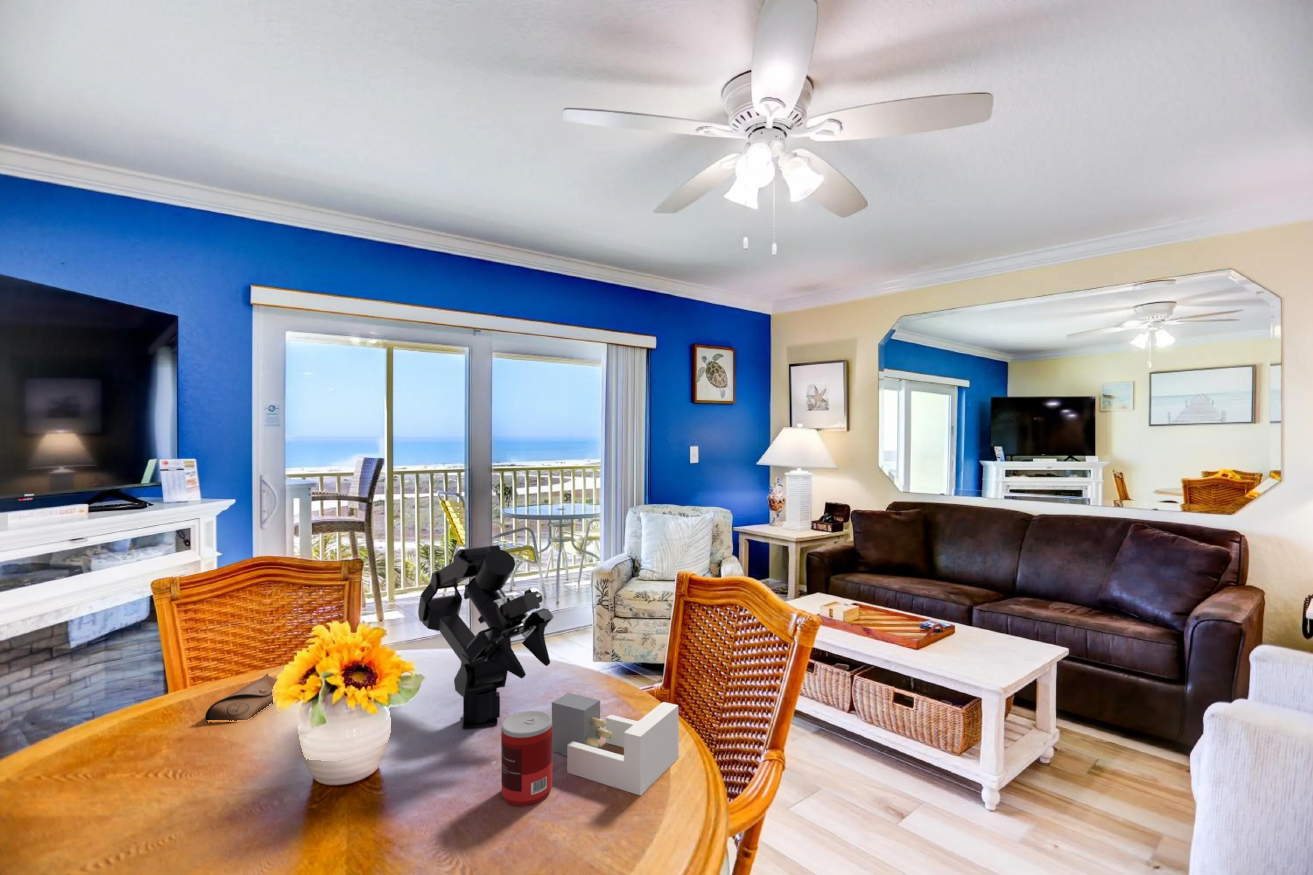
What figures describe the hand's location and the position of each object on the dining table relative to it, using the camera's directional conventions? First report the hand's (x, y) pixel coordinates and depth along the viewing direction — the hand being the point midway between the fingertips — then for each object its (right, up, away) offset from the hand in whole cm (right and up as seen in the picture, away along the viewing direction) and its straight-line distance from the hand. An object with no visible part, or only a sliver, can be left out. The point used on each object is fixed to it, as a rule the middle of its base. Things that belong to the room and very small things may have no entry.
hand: (536, 670), depth 112 cm
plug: (+9, -12, -5) cm, 16 cm away
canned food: (+2, -12, -18) cm, 22 cm away
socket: (+16, -12, -9) cm, 22 cm away
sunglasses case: (-62, -14, +16) cm, 65 cm away
